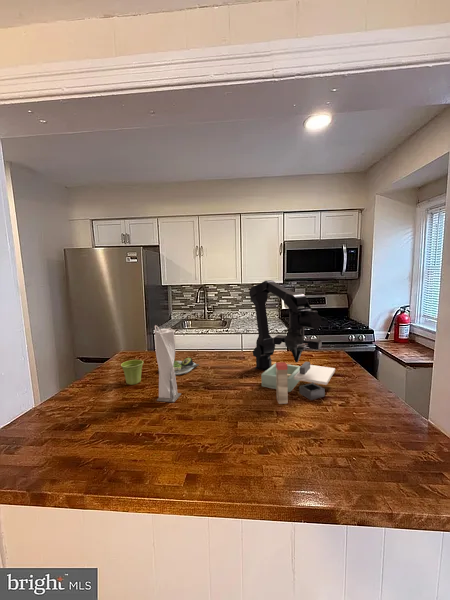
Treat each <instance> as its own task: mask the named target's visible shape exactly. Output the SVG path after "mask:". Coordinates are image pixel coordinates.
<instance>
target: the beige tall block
mask: <svg viewBox="0 0 450 600" xmlns="http://www.w3.org/2000/svg"><path fill="white" fill-rule="evenodd" d="M275 363H276V389H275V390H276V401H277V403H278V404H279V405H283V404H289V402H288V401H289V400H288V399H289V398H288V397H289V396H288V395H289V394H288V393H289V392H288V382H287V370H288V369H287V362H285V361H280V362H279V361H278V362H275Z"/></svg>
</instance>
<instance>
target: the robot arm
mask: <svg viewBox="0 0 450 600" xmlns="http://www.w3.org/2000/svg"><path fill="white" fill-rule="evenodd" d="M248 293H249V297H250V301H251V302H252V303H253V305H254V308H255V309H254V310H255V316H256V317H255V318H256V324H257V331H258V336H257V339H256V342H255V343H256V346H255V347H254V349H253V351H252V355H253V356H254V357H255V362H256V363H255V365H256V366H255V367H254V369H255V370H260V371H266V370H267V369H269V368H270V367H271V366H272V365H273V364H272V363H273V362H272V360H273V359H272V358H271V356H273V355H274V353H275V350H276V345H277V346H281V344H282V343H284V346H285V348H288V350H290V352H291V354H292V356H293V359H294V362H295V363H299V361H300V359H301V355H302V353H303V351H304V350H305V349H306V348H307V347H308V348H309V349H310V350H320V349H321V348H322V345H323V344H322V343H323V342H322V339H320V338H319V339H318V338H310V339H308V340H306V339H305V337H306V336H305V328H309V329H313V330H318V329H320V327H321V325H322V321H323V320H322V318H321V315H320V314H319V313H318V311H317V310H313V309H312V307H311V305H310V303H309V301H308V299H307V296H306V295H305V294H304V293H301V292H298V291H293V290H292V291H291V290H289V289H288V288H286V287H284V286H282V285H280V284H279V283H276V282H275V281H274V280H272V279H271V280H269V279H268V280H264V281H262V282H260V283H259V284H257V285H255V286H251V287H250V289H249V291H248ZM270 293H271V294H273V295H274V296H276V297H277V298H279V299H281V300H282V301H283V303H284V305H285V306H287V308H288V309H287V310H286V311H285V313H286V314H289V327H288V332H287V334H286V335H282V334H278V335H276V336H274V337H272V335H271V334H270V330H269V329H270V328H269V323H268V314H267V306H266V303H267V301H268V298H269V294H270Z"/></svg>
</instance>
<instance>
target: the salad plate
mask: <svg viewBox="0 0 450 600" xmlns="http://www.w3.org/2000/svg"><path fill="white" fill-rule="evenodd" d="M199 365H200V363H195V362H194V361H193V359H192V358H191V357H186V358H184V359H183V360H174V365H173V368H174V372H175V376H180V375H181V376H182V375H186V374H188V373H189V372H191V371H193V370H194V369H196V368H197V367H198V366H199ZM192 369H193V370H192ZM157 371H158V372H159V368H157Z"/></svg>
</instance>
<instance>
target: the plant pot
mask: <svg viewBox="0 0 450 600" xmlns="http://www.w3.org/2000/svg"><path fill="white" fill-rule="evenodd" d="M143 365H144V361H143V360H142V359H131V360H126V361H124V362H121V364H120V367H121V368H122V370H123V374H124V378H125V382H126V384H127V385H131V386H132V385H137V384H139V383H141V381H142V370H143Z"/></svg>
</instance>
